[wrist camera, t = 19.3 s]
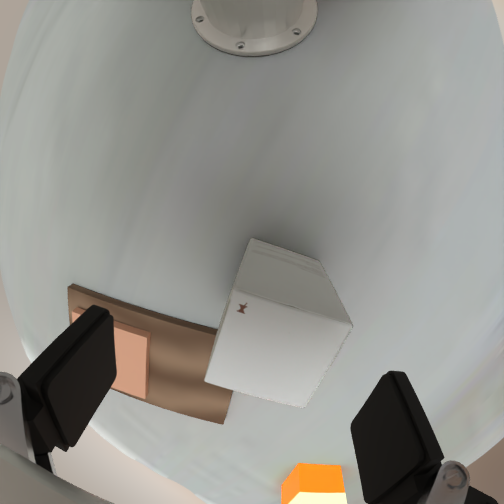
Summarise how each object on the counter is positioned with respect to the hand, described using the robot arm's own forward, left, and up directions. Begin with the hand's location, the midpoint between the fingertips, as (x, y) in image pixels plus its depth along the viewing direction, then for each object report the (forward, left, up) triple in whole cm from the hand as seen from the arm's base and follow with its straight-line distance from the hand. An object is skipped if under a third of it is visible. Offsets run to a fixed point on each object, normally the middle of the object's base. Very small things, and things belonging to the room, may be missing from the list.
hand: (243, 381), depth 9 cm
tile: (+17, -15, -17) cm, 28 cm away
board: (+17, -10, -19) cm, 28 cm away
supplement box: (+3, +2, -20) cm, 20 cm away
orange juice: (+37, +18, -20) cm, 46 cm away
